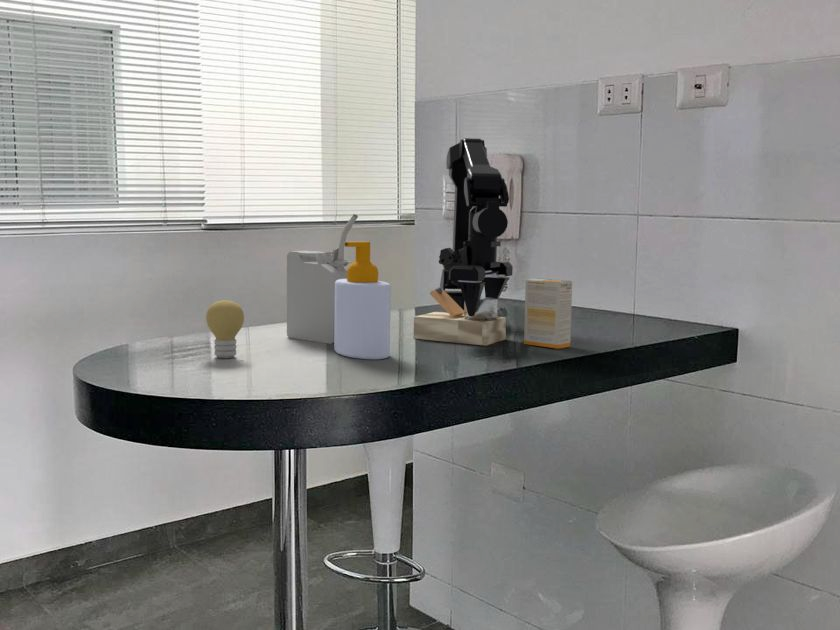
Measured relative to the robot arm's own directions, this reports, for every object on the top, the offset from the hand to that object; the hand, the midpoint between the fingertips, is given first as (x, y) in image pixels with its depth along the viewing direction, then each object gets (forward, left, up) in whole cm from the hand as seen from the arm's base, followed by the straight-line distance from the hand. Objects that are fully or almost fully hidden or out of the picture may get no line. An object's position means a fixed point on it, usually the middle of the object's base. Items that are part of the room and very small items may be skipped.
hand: (480, 313), depth 179 cm
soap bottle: (+27, -11, -6) cm, 30 cm away
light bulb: (+43, -29, -6) cm, 53 cm away
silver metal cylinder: (0, 0, -5) cm, 5 cm away
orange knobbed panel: (0, -8, +1) cm, 8 cm away
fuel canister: (+17, -26, -6) cm, 32 cm away
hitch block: (0, -4, -6) cm, 7 cm away
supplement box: (-2, +14, -6) cm, 15 cm away
